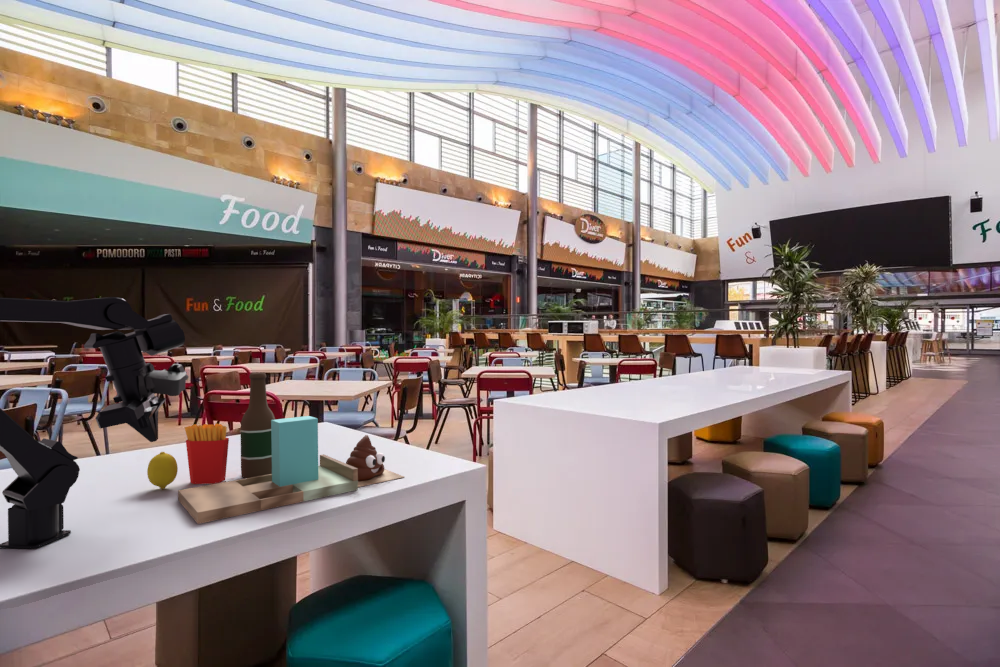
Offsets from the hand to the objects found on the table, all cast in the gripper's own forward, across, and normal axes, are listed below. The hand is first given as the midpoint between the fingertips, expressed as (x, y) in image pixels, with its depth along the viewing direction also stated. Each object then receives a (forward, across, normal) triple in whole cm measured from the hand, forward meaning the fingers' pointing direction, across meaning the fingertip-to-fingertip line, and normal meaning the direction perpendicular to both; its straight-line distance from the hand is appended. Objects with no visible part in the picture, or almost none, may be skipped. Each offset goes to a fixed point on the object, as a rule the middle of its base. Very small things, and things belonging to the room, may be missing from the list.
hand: (154, 440), depth 102 cm
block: (+17, +4, -21) cm, 27 cm away
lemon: (+15, +11, +7) cm, 20 cm away
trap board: (+17, +1, -17) cm, 24 cm away
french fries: (+17, +15, 0) cm, 23 cm away
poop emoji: (+23, +11, -34) cm, 43 cm away
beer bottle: (+20, +18, -10) cm, 29 cm away
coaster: (+23, +11, -34) cm, 43 cm away
